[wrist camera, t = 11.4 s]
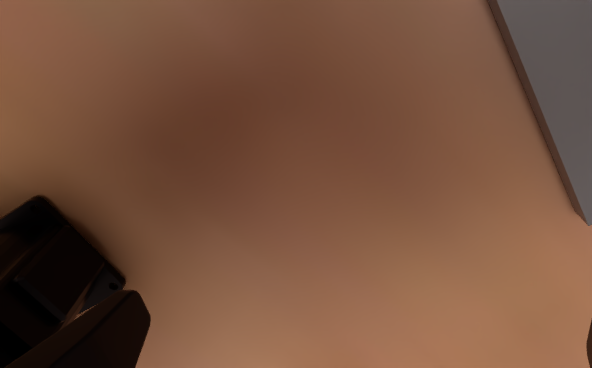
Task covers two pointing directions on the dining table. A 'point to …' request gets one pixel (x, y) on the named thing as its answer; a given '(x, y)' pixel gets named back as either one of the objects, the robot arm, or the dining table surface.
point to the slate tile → (556, 81)
